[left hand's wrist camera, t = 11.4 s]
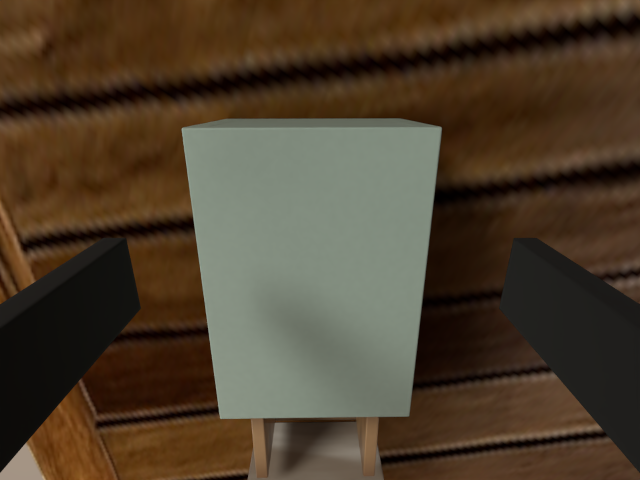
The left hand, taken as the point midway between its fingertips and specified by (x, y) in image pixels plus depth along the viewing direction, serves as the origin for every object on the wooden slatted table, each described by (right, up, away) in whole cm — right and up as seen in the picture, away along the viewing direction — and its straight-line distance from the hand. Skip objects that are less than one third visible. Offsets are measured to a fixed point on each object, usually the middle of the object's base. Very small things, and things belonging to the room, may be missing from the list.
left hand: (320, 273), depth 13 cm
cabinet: (0, +1, +13) cm, 13 cm away
